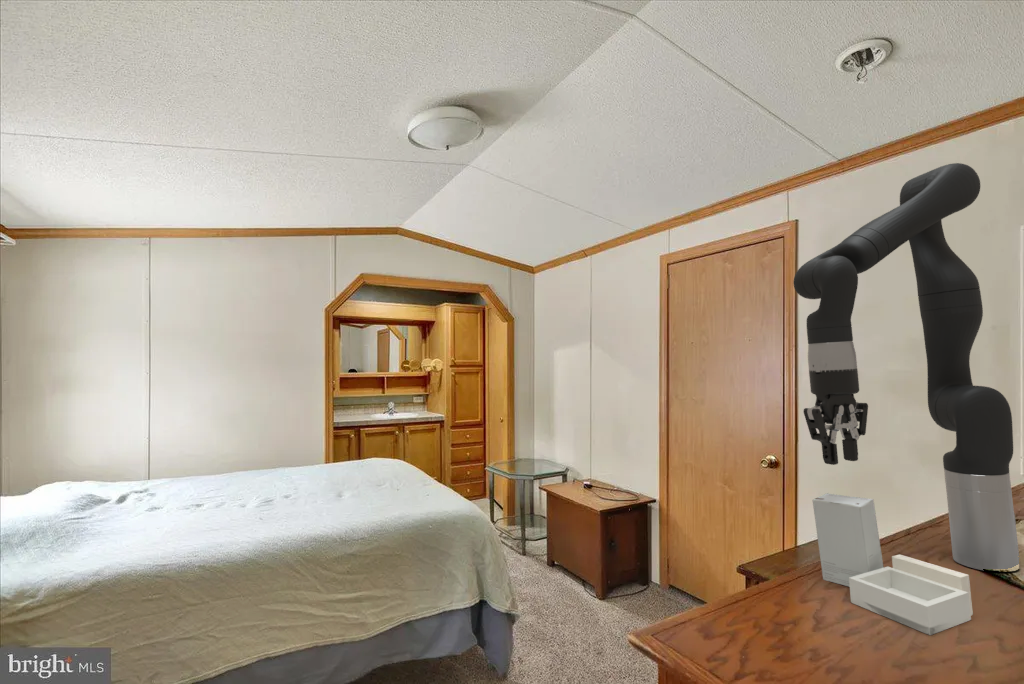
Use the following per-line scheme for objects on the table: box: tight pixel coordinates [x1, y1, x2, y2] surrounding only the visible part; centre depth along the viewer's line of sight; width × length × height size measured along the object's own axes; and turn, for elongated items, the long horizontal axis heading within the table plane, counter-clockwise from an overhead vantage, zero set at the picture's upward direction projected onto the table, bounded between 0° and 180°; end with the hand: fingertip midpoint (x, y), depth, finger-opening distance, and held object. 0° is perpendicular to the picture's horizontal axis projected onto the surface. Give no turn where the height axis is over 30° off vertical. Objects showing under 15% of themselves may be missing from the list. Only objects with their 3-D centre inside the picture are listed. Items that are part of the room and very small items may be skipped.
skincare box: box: [812, 492, 885, 588], centre depth 92 cm, size 8×6×15 cm
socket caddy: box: [849, 565, 972, 636], centre depth 81 cm, size 10×12×4 cm
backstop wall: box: [891, 553, 974, 616], centre depth 83 cm, size 2×10×6 cm, turn 21°
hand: (841, 461), depth 93 cm, fingers open, 4 cm apart
